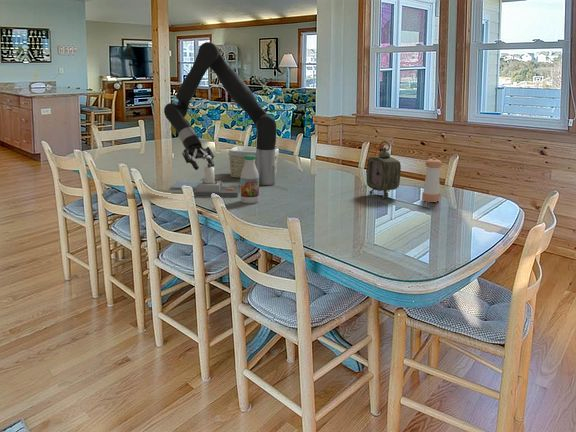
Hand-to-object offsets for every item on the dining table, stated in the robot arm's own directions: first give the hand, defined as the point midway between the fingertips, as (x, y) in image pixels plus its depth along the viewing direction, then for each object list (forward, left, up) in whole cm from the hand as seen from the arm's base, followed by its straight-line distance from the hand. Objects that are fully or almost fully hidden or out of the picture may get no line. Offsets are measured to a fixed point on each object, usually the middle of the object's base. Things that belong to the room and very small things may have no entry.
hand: (205, 167), depth 246 cm
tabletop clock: (-80, +1, -12) cm, 81 cm away
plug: (-2, +2, -9) cm, 10 cm away
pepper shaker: (-100, +8, -12) cm, 101 cm away
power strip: (-5, +2, -11) cm, 13 cm away
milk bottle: (-21, +16, -12) cm, 29 cm away
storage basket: (-19, -40, -12) cm, 46 cm away
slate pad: (+10, -12, -11) cm, 19 cm away
